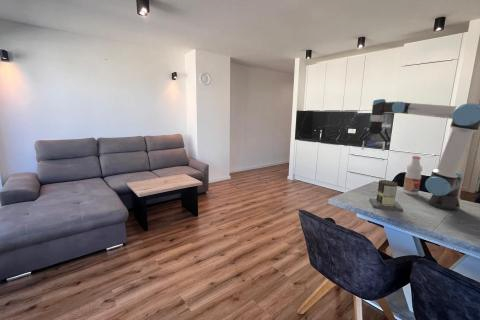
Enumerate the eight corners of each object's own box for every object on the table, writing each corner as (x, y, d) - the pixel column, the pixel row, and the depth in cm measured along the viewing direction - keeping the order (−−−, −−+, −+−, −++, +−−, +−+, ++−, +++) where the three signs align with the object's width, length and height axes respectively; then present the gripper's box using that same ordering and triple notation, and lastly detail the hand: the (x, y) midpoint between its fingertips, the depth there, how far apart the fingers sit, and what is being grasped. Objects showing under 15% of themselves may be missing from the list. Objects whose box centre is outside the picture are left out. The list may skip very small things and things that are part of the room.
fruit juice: (404, 190, 182) (409, 155, 176) (418, 193, 175) (425, 156, 170) (401, 192, 175) (407, 156, 170) (416, 196, 169) (423, 158, 163)
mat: (396, 203, 154) (396, 201, 154) (402, 211, 141) (403, 209, 141) (369, 200, 159) (369, 197, 159) (373, 207, 146) (373, 205, 146)
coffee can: (372, 202, 151) (375, 181, 148) (380, 199, 157) (383, 179, 154) (390, 207, 143) (393, 185, 140) (397, 204, 149) (400, 183, 146)
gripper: (395, 121, 168) (390, 150, 172) (356, 120, 176) (353, 148, 180) (398, 121, 161) (393, 152, 165) (358, 120, 169) (354, 149, 173)
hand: (372, 150), depth 173 cm, fingers open, 13 cm apart
